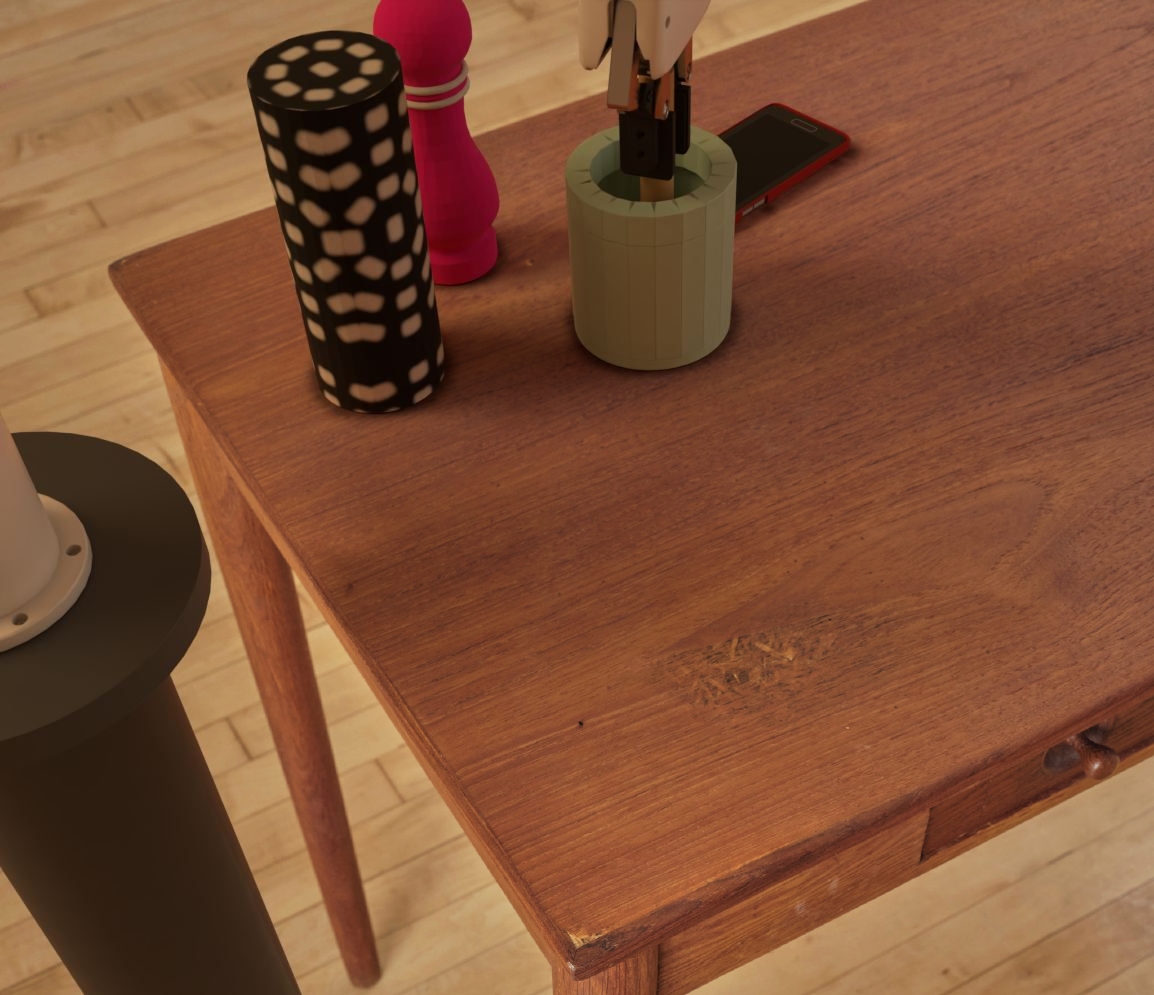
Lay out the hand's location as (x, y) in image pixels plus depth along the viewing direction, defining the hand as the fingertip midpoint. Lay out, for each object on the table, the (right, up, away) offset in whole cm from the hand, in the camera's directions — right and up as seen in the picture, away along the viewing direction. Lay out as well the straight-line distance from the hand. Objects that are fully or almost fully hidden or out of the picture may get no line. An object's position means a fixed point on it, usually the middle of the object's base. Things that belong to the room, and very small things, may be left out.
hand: (655, 159), depth 87 cm
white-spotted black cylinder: (-17, -10, +9) cm, 22 cm away
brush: (+1, -6, +8) cm, 11 cm away
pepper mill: (-13, 0, +16) cm, 21 cm away
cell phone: (+8, +7, +20) cm, 23 cm away
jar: (0, -6, +11) cm, 12 cm away
